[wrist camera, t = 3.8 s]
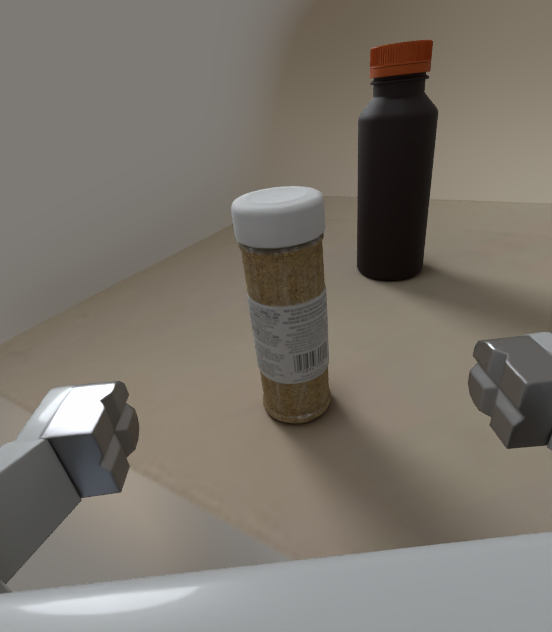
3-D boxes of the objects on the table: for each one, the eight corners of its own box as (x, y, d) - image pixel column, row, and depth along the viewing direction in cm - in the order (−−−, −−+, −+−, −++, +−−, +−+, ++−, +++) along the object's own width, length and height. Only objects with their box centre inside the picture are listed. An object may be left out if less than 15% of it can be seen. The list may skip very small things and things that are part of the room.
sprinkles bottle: (315, 372, 28) (303, 179, 21) (343, 414, 24) (340, 195, 17) (254, 389, 27) (221, 193, 20) (273, 436, 23) (241, 214, 16)
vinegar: (418, 284, 38) (443, 35, 28) (350, 278, 40) (349, 49, 30) (425, 258, 43) (448, 40, 33) (364, 254, 45) (368, 51, 35)
